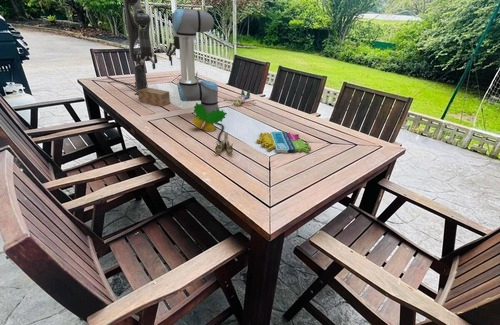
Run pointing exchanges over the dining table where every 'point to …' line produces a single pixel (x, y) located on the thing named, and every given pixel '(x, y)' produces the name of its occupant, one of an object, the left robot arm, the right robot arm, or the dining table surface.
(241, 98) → the toy
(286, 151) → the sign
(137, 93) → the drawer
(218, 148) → the jawbone
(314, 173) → the dining table surface
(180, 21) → the right robot arm
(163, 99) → the wooden recessed-top box
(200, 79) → the airplane
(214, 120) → the ornament
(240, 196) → the dining table surface
